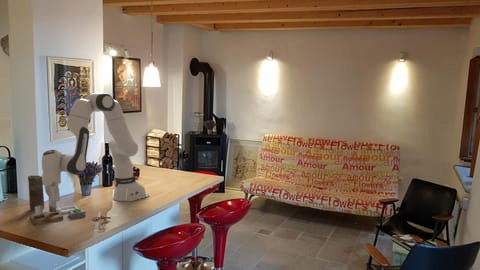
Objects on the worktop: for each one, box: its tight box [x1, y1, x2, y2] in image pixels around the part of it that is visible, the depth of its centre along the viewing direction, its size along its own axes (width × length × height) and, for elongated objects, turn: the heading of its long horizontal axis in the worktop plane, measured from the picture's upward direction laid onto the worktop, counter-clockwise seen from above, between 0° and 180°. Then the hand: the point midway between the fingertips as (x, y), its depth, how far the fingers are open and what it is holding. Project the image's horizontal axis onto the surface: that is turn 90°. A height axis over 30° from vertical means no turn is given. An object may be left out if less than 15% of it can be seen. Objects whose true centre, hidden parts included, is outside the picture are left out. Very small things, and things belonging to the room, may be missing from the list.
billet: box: [48, 197, 58, 212], centre depth 198 cm, size 4×4×8 cm
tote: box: [57, 205, 78, 215], centre depth 210 cm, size 9×8×2 cm
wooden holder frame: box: [29, 209, 64, 226], centre depth 197 cm, size 14×12×2 cm
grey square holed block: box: [68, 207, 86, 219], centre depth 203 cm, size 7×7×3 cm
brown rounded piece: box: [27, 175, 45, 212], centre depth 211 cm, size 8×7×20 cm
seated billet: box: [34, 205, 44, 219], centre depth 194 cm, size 4×4×8 cm
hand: (52, 205), depth 198 cm, fingers closed on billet, 4 cm apart
